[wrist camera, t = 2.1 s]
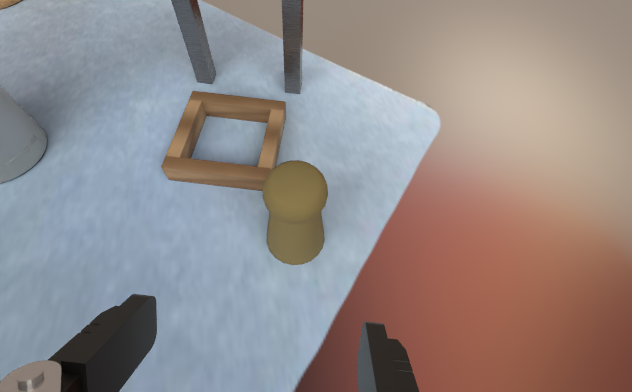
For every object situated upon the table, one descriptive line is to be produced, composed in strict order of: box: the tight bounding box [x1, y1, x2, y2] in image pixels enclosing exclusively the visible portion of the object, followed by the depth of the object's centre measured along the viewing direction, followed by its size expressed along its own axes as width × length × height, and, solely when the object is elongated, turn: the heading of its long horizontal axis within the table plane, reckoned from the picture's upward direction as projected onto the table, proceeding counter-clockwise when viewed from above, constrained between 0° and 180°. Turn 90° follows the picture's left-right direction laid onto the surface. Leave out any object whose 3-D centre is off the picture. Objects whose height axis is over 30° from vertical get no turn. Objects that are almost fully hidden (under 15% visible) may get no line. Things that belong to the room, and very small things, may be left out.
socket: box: [161, 91, 286, 191], centre depth 39 cm, size 12×12×2 cm
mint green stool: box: [171, 0, 303, 94], centre depth 35 cm, size 10×14×20 cm
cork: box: [263, 160, 328, 265], centre depth 30 cm, size 6×6×11 cm
